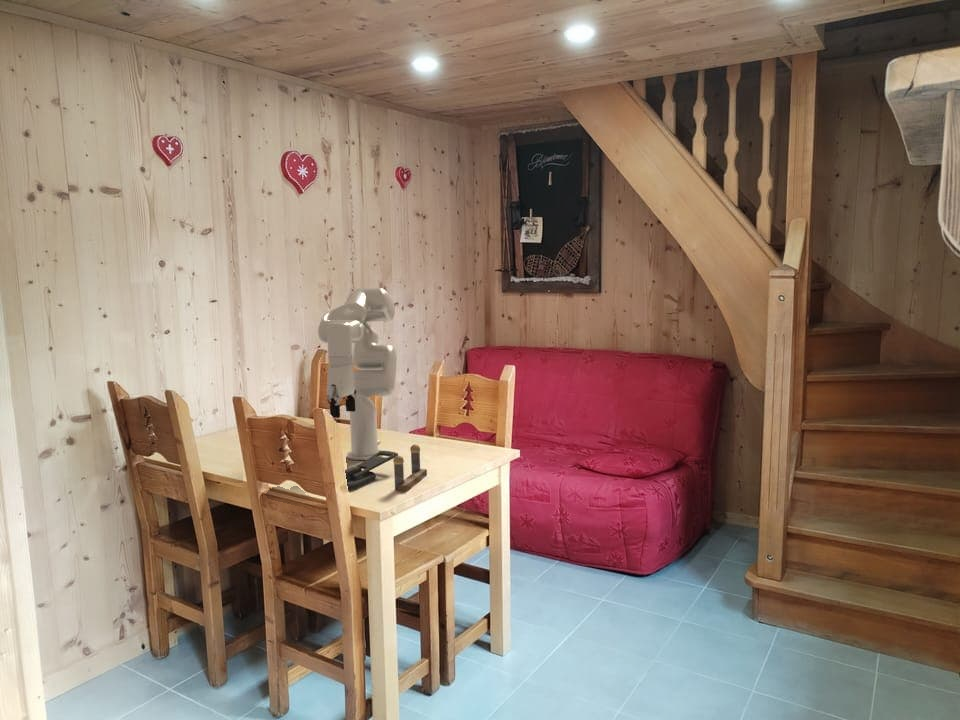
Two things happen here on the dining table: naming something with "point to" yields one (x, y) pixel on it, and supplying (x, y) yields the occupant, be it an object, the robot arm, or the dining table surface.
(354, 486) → the zipper pull
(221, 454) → the dining table surface
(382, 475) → the dining table surface
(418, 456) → the peg stop rail
